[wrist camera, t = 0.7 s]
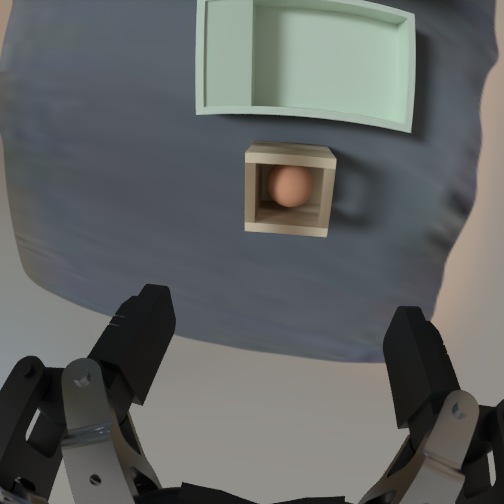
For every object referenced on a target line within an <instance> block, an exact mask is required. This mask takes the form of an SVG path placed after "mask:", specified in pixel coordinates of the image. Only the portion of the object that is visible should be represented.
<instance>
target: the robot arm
mask: <svg viewBox="0 0 504 504" xmlns="http://www.w3.org/2000/svg"><path fill="white" fill-rule="evenodd" d="M175 326H176V318H175V313H174V309H173V304H172V299H171V294H170V290H169V288H168V287H167V286H162V285H155V284H146V285H145V286H144V288H143V289H142V291H141V292H140V294H139V295H138V296H132V297H131V298H129V299H128V300H127V301H125V302H124V303H123V304H122V305H121V306H120V308H119V309H118V311H117V312H116V313H115V317H114V316H113V318H112V320H111V321H110V322H109V325H108V326H107V327H106V329H105V330H104V332H103V333H102V335H101V336H100V338H99V339H98V341H97V343H96V344H95V346H94V347H93V349H92V351H91V352H90V354H89V355H88V357H87V358H80V359H76V360H74V361H72V362H71V363H69V364H68V365H67V366H66V368H52V367H45V366H44V364H43V363H42V361H41V360H40V359H39V358H38V357H36V356H27V357H24V358H22V359H21V360H19V361H18V362H17V364H16V365H15V366H14V368H13V370H12V371H11V373H10V375H9V376H8V378H7V380H6V382H5V383H4V385H3V387H2V388H1V390H0V504H49V503H48V500H49V496H50V493H51V490H52V486H53V484H54V481H55V477H56V475H57V472H58V469H59V466H60V463H61V461H62V458H63V459H64V463H65V468H66V472H67V476H68V480H69V484H70V487H71V491H72V494H73V498H74V501H75V504H257V503H254V502H251V501H249V500H246V499H243V498H240V497H238V496H235V495H232V494H230V493H227V492H224V491H222V490H216V489H212V488H207V487H202V486H197V485H193V484H188V483H184V482H182V485H181V487H171V488H162V486H161V484H160V482H159V480H158V477H157V476H156V473H155V472H154V470H153V468H152V466H151V465H150V463H149V462H148V461H147V458H146V457H145V454H144V452H143V449H142V446H141V444H140V441H139V438H138V436H137V433H136V430H135V427H134V424H133V421H132V418H131V415H130V412H129V408H130V406H131V403H135V404H138V405H142V406H143V404H144V401H145V399H146V397H147V394H148V392H149V389H150V387H151V385H152V382H153V380H154V377H155V375H156V373H157V370H158V368H159V366H160V364H161V361H162V359H163V357H164V354H165V352H166V350H167V347H168V345H169V343H170V341H171V338H172V336H173V334H174V331H175ZM383 353H384V357H385V362H386V365H387V371H388V376H389V380H390V386H391V391H392V396H393V402H394V408H395V414H396V421H397V427H398V429H402V428H409V431H410V434H409V435H408V436H407V438H406V439H405V441H404V443H403V444H402V446H401V448H400V450H399V451H398V453H397V454H396V456H395V457H394V459H393V461H392V462H391V464H390V465H389V467H388V469H387V470H386V471H385V473H384V474H383V476H382V477H381V478H380V480H379V481H378V482H377V483H376V484H375V485H374V486H373V487H372V488H370V490H369V491H368V492H367V493H366V494H365V495H364V496H363V498H362V499H361V500H360V501H359V503H358V504H454V503H455V504H504V399H503V400H502V401H501V402H500V403H499V404H498V405H497V406H496V407H491V406H483V405H478V403H477V401H476V400H475V398H474V397H473V396H472V395H471V394H470V393H468V392H466V391H463V390H461V389H460V386H459V383H458V380H457V377H456V374H455V371H454V369H453V366H452V363H451V360H450V358H449V355H448V354H447V350H446V348H445V345H443V340H442V338H441V335H440V333H439V331H438V330H437V329H436V327H435V326H434V325H433V324H432V323H431V322H430V321H426V320H425V317H424V315H423V313H422V310H421V308H420V307H418V306H399V307H398V308H397V310H396V312H395V314H394V316H393V319H392V321H391V323H390V326H389V328H388V330H387V332H386V334H385V337H384V341H383ZM37 409H38V410H40V414H39V417H38V419H37V421H36V423H35V425H34V427H33V430H32V432H31V434H30V436H29V439H28V440H27V441H26V432H27V429H28V427H29V425H30V423H31V421H32V418H33V416H34V414H35V412H36V410H37ZM492 450H493V456H494V463H495V471H496V481H495V484H494V485H493V487H492V486H491V483H490V473H489V464H488V457H487V454H488V453H489V452H491V451H492ZM273 504H352V503H349V502H345V496H340V497H316V498H315V497H314V498H302V499H296V500H291V501H286V502H279V503H273Z"/></svg>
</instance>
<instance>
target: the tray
mask: <svg viewBox="0 0 504 504" xmlns="http://www.w3.org/2000/svg"><path fill="white" fill-rule="evenodd" d="M415 68H416V40H415V17H414V14H412V13H409V12H406V11H402V10H399V9H396V8H392V7H388V6H384V5H380V4H376V3H372V2H367V1H363V0H197V23H196V115H202V114H270V115H289V116H303V117H314V118H323V119H332V120H340V121H348V122H354V123H361V124H367V125H373V126H379V127H384V128H389V129H394V130H399V131H403V132H408V133H411V127H412V118H413V106H414V92H415Z"/></svg>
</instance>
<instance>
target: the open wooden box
mask: <svg viewBox="0 0 504 504" xmlns="http://www.w3.org/2000/svg"><path fill="white" fill-rule="evenodd" d="M336 160H337V159H336V158H335V156H334V155H333V154H332V152H331V151H330V149H329V148H328V147H327V146H322V145H312V144H300V143H287V142H270V141H255V142H254V143H253V144H252V145H251V146H250V147H249V149H248V150H247V151H246V152H245V231H254V232H268V233H281V234H293V235H305V236H317V237H327V231H328V225H329V218H330V211H331V203H332V195H333V187H334V179H335V170H336ZM279 164H281V165H295V166H305V167H306V168H307V169H308V170H309V172H310V173H311V175H312V178H313V182H314V187H313V192H312V194H311V196H310V198H309V199H308V200H307V201H306V202H305V203H303V204H302V205H300V206H297V207H285V206H282V205H280V204H278V203H277V202H276V201H274V200H273V198H272V197H271V195H270V193H269V191H268V186H267V182H268V177H269V174H270V173H271V171H272V170H273V169H274V168H275V167H276V166H277V165H279Z"/></svg>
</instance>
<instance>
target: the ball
mask: <svg viewBox="0 0 504 504" xmlns="http://www.w3.org/2000/svg"><path fill="white" fill-rule="evenodd" d="M267 186H268V191H269V193H270V195H271V197H272V198H273V200H274V201H276V202H277V203H278V204H280V205H282V206H285V207H297V206H300V205H302V204H303V203H305V202H306V201H307V200H308V199H309V198H310V196H311V194H312V192H313V187H314V182H313V178H312V175H311V173H310V172H309V170H308V169H307V168H306V167H305V166H295V165H281V164H279V165H277V166H276V167H275V168H274V169H273V170H272V171H271V173H270V174H269V177H268V182H267Z"/></svg>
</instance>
